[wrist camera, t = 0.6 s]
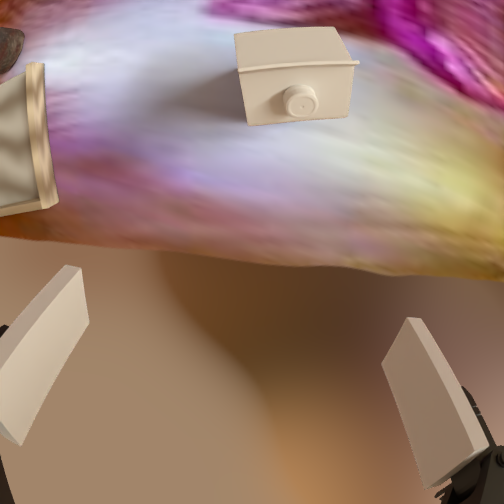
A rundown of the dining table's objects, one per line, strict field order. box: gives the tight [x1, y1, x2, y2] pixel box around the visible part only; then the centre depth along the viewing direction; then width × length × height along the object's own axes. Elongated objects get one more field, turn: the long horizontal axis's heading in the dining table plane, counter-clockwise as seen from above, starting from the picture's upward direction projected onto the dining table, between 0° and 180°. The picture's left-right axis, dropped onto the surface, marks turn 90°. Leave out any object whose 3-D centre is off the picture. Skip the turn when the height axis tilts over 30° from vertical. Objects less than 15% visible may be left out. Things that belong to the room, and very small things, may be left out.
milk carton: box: [234, 27, 359, 126], centre depth 23 cm, size 7×7×19 cm
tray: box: [0, 62, 59, 217], centre depth 32 cm, size 21×15×3 cm
